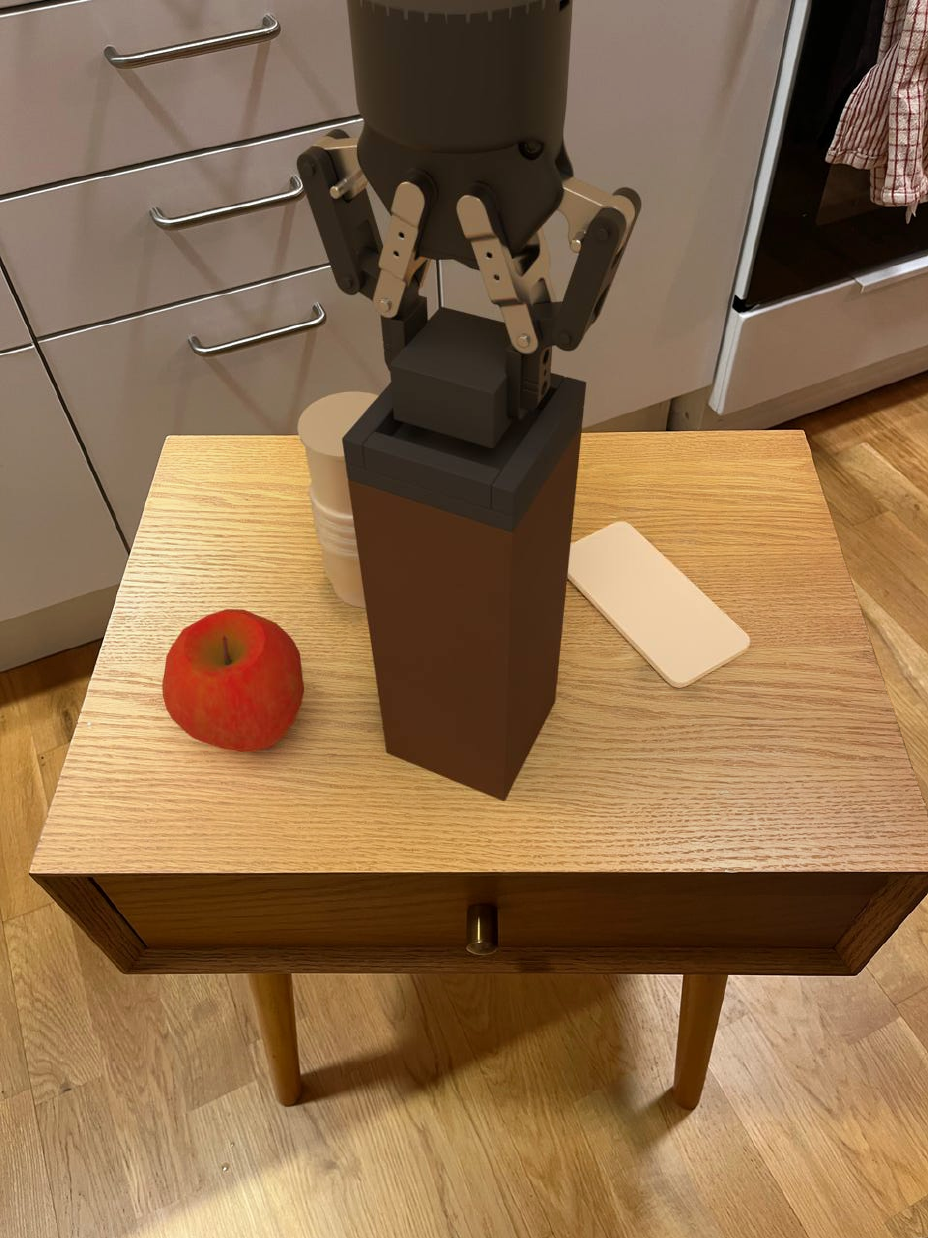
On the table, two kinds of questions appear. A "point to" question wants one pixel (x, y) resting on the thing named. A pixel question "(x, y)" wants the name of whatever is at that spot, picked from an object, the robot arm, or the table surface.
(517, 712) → the brown square canister
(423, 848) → the table surface
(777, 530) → the table surface
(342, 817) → the table surface
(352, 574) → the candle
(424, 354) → the dark brown square block
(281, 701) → the apple
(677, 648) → the smartphone
